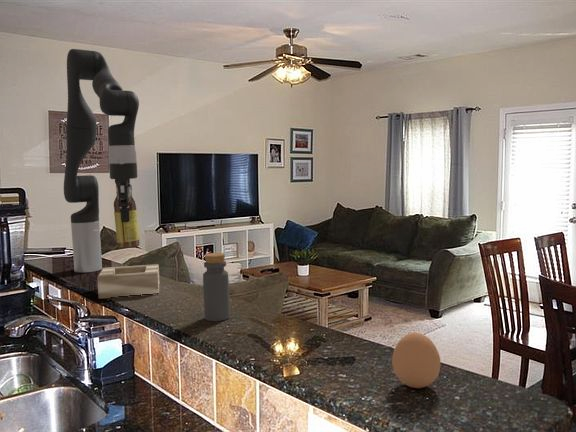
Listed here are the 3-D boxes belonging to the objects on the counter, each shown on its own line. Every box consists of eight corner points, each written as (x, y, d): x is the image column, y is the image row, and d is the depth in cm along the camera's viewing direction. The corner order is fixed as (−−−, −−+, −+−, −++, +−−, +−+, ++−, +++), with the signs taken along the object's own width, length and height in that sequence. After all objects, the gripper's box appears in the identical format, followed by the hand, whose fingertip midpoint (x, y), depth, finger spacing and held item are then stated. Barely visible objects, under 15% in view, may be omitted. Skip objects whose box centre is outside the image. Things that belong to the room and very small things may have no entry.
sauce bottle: (143, 245, 158) (139, 177, 156) (135, 248, 151) (130, 177, 149) (121, 245, 158) (117, 177, 156) (112, 248, 152) (108, 178, 150)
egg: (436, 399, 80) (436, 343, 79) (387, 392, 83) (386, 338, 82) (443, 380, 86) (443, 328, 85) (397, 374, 89) (397, 324, 88)
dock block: (104, 287, 161) (103, 267, 161) (159, 283, 164) (158, 264, 164) (98, 298, 147) (97, 277, 147) (158, 294, 151) (157, 272, 150)
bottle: (234, 315, 127) (231, 252, 126) (223, 322, 122) (220, 257, 120) (212, 313, 129) (209, 252, 128) (200, 320, 124) (197, 256, 122)
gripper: (111, 162, 159) (115, 219, 160) (106, 162, 145) (110, 224, 146) (138, 161, 160) (141, 217, 162) (134, 161, 146) (138, 222, 148)
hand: (126, 220), depth 154 cm, fingers closed on sauce bottle, 6 cm apart
